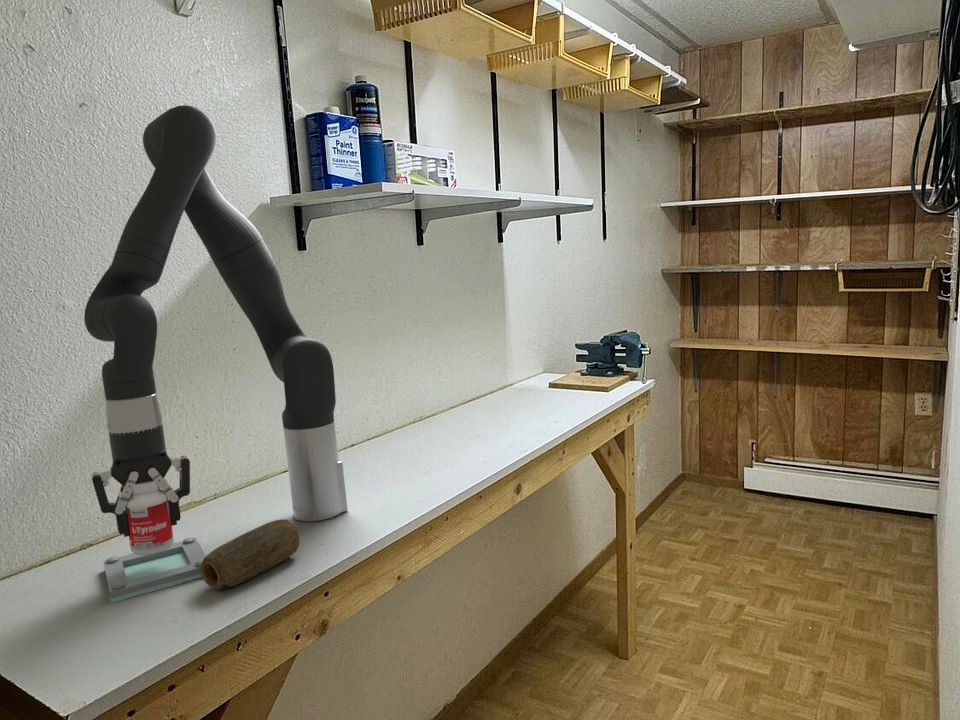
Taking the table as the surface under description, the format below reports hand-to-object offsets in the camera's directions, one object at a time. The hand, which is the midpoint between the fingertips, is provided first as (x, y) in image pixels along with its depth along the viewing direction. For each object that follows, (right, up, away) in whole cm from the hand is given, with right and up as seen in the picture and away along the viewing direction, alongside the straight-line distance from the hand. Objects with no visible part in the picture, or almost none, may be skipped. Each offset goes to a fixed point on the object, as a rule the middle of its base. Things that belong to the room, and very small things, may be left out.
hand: (150, 529), depth 110 cm
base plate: (+1, -7, +1) cm, 7 cm away
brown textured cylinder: (+17, -7, -2) cm, 18 cm away
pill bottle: (0, -3, 0) cm, 3 cm away
